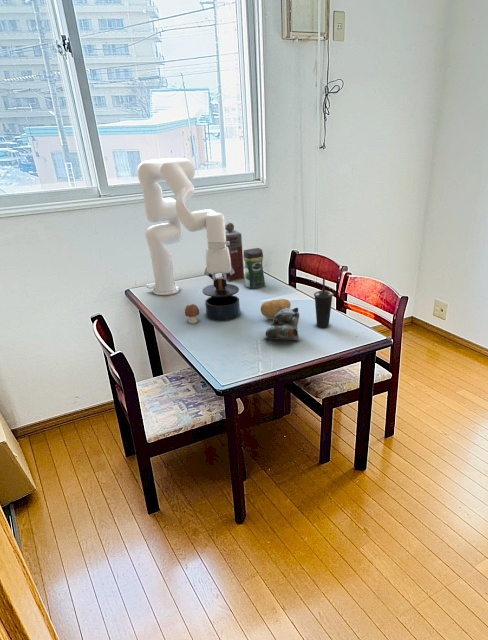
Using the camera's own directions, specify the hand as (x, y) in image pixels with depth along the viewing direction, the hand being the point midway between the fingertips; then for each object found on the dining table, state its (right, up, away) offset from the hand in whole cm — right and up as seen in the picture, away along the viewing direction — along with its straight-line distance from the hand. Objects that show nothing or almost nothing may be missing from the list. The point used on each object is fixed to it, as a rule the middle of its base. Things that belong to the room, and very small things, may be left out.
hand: (220, 288), depth 211 cm
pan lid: (0, -1, +1) cm, 1 cm away
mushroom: (-12, -14, -1) cm, 18 cm away
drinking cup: (+43, -17, -7) cm, 47 cm away
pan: (+1, -10, +6) cm, 12 cm away
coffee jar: (+13, +9, +38) cm, 41 cm away
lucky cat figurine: (+27, -24, -17) cm, 40 cm away
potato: (+24, -13, +1) cm, 27 cm away
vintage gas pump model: (+1, +16, +50) cm, 52 cm away
